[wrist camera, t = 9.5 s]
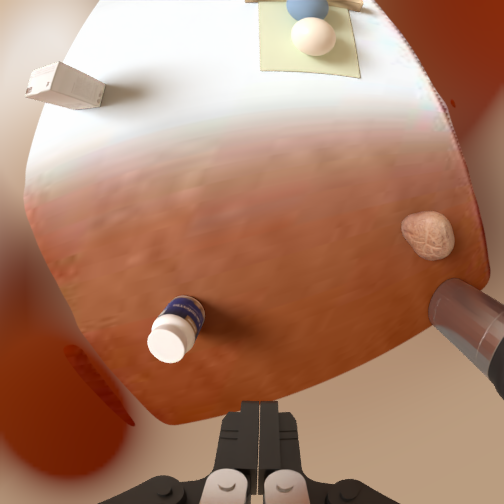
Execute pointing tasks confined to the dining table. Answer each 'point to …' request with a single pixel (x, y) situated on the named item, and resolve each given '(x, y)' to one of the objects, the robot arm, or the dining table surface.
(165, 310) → the pill bottle
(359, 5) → the stopper strip
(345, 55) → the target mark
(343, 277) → the dining table surface
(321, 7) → the blue ball
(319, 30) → the cue ball
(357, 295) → the dining table surface
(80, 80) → the skincare box
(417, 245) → the mushroom
